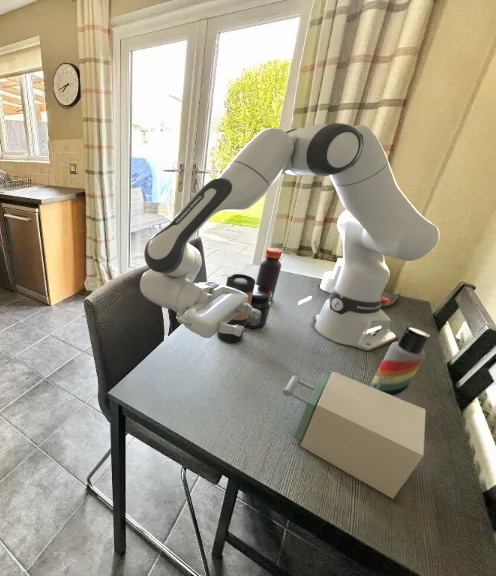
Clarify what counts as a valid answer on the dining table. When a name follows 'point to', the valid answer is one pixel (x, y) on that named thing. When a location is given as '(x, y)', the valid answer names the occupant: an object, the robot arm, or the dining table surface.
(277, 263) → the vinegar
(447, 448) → the dining table surface
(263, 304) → the supplement container
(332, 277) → the cylinder with rectangular tab
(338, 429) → the matchbox drawer box
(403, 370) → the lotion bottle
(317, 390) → the green pull-out drawer
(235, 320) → the travel mug
